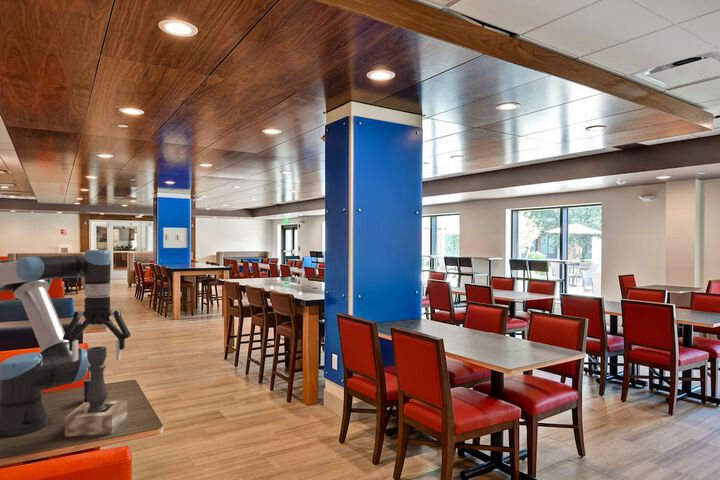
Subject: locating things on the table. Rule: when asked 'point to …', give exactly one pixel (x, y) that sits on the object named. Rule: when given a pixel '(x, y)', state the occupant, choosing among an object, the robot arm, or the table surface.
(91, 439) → the table surface
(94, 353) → the candle holder
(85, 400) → the flask
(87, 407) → the socket block
